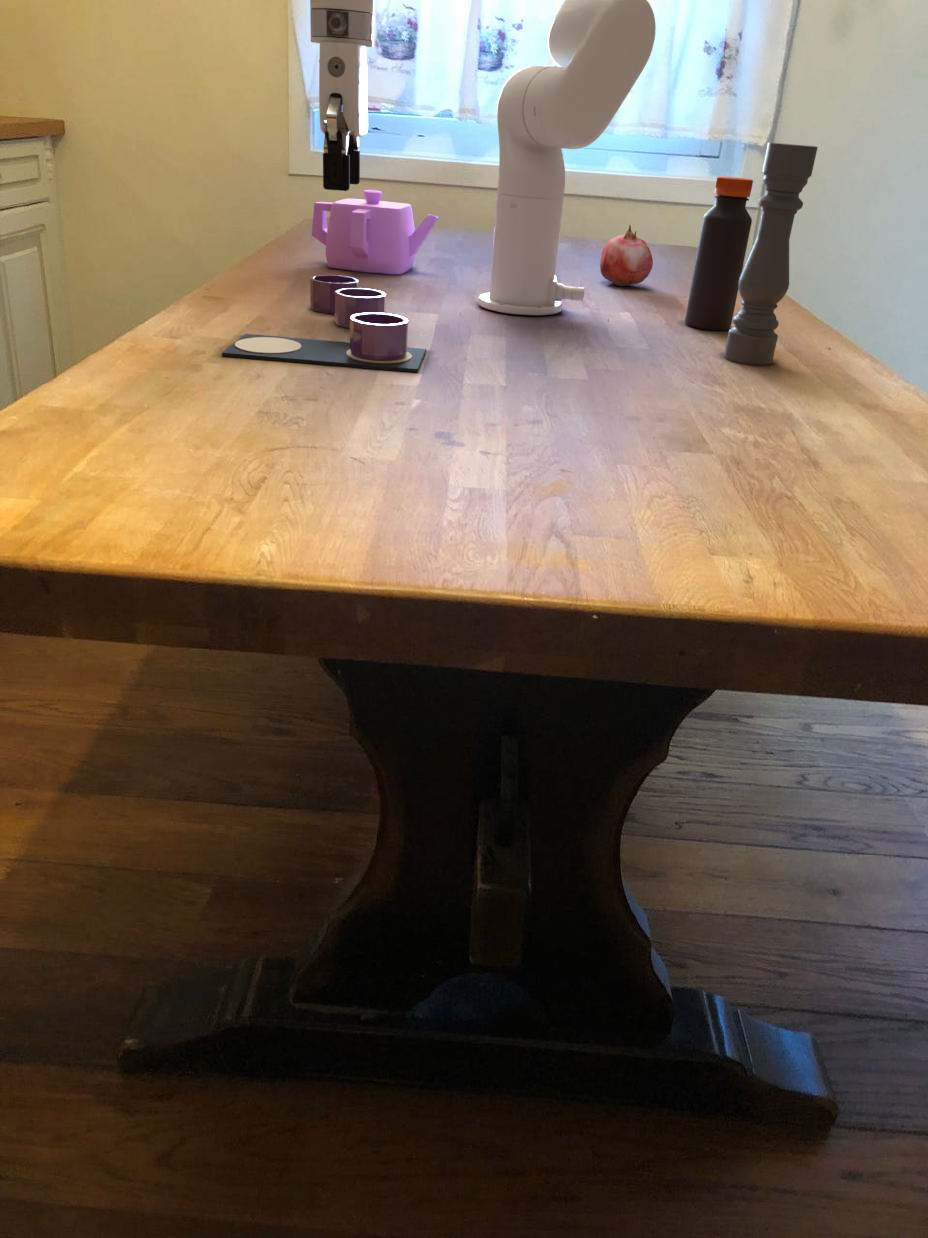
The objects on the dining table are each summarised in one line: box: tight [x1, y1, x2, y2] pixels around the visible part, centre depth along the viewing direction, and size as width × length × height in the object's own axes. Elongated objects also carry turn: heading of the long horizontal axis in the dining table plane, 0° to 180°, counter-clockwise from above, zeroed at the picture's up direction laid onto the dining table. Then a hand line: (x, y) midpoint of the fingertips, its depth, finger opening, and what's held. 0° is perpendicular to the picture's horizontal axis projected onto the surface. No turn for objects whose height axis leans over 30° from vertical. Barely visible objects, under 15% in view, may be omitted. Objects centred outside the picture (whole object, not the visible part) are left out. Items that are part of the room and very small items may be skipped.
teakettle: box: [311, 189, 439, 275], centre depth 164 cm, size 17×17×12 cm
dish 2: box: [334, 287, 387, 329], centre depth 125 cm, size 6×7×4 cm
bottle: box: [684, 176, 754, 331], centre depth 136 cm, size 7×7×20 cm
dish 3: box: [349, 313, 409, 361], centre depth 109 cm, size 6×7×4 cm
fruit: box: [599, 224, 654, 287], centre depth 167 cm, size 9×10×10 cm
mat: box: [221, 333, 427, 374], centre depth 110 cm, size 22×10×1 cm, turn 86°
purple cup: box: [309, 274, 360, 315], centre depth 132 cm, size 6×7×4 cm
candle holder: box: [723, 142, 819, 366], centre depth 117 cm, size 6×6×25 cm
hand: (342, 186), depth 122 cm, fingers open, 9 cm apart
